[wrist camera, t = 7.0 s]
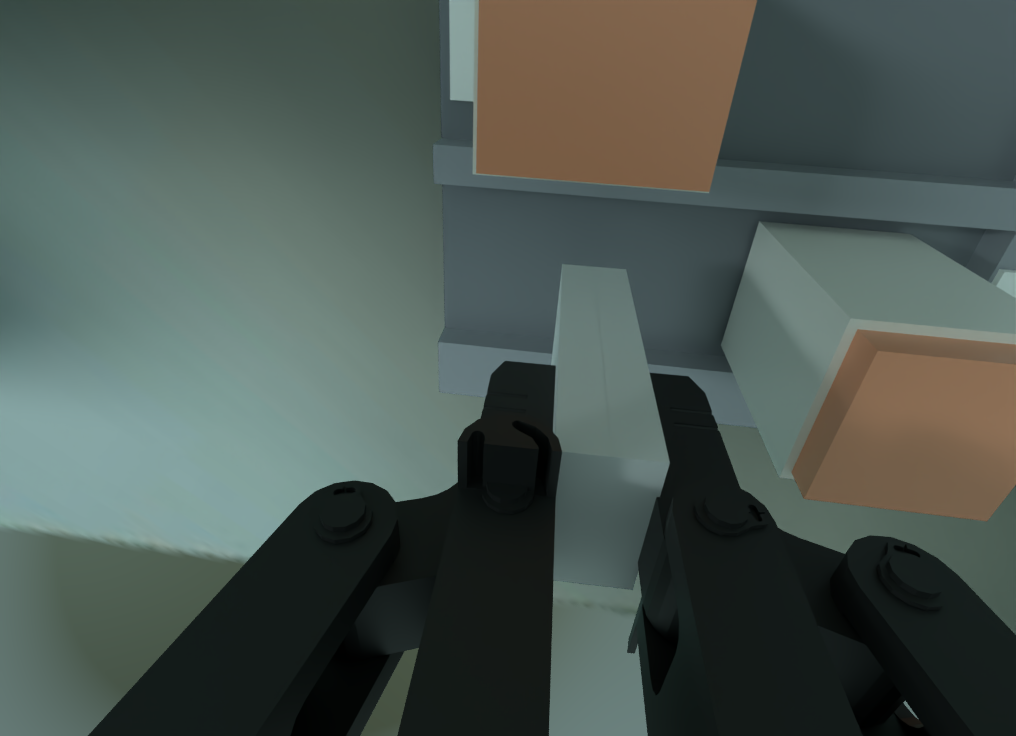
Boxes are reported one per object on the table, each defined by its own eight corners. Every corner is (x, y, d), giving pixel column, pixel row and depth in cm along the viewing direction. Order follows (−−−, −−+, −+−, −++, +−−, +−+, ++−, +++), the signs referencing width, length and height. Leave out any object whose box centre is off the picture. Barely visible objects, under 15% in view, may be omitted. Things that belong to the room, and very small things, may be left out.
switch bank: (456, 348, 21) (437, 395, 18) (453, -664, 9) (401, -944, 7) (882, 393, 19) (929, 451, 17) (1467, -710, 8) (1902, -1076, 5)
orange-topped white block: (512, 125, 14) (463, 184, 8) (522, -67, 12) (465, -161, 6) (663, 136, 14) (718, 205, 8) (700, -59, 12) (812, -150, 6)
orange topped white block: (720, 345, 17) (790, 504, 11) (759, 221, 15) (870, 339, 9) (851, 358, 16) (992, 529, 11) (910, 234, 14) (1124, 364, 9)
